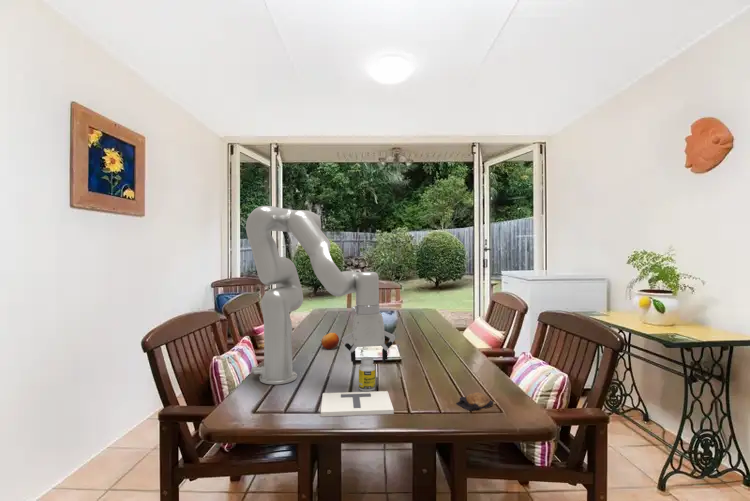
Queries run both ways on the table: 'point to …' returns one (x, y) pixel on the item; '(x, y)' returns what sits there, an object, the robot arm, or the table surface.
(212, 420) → the table surface
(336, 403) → the board
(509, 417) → the table surface
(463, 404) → the cookie on black wrapper
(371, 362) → the supplement bottle
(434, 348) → the table surface
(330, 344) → the fruit
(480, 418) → the table surface
